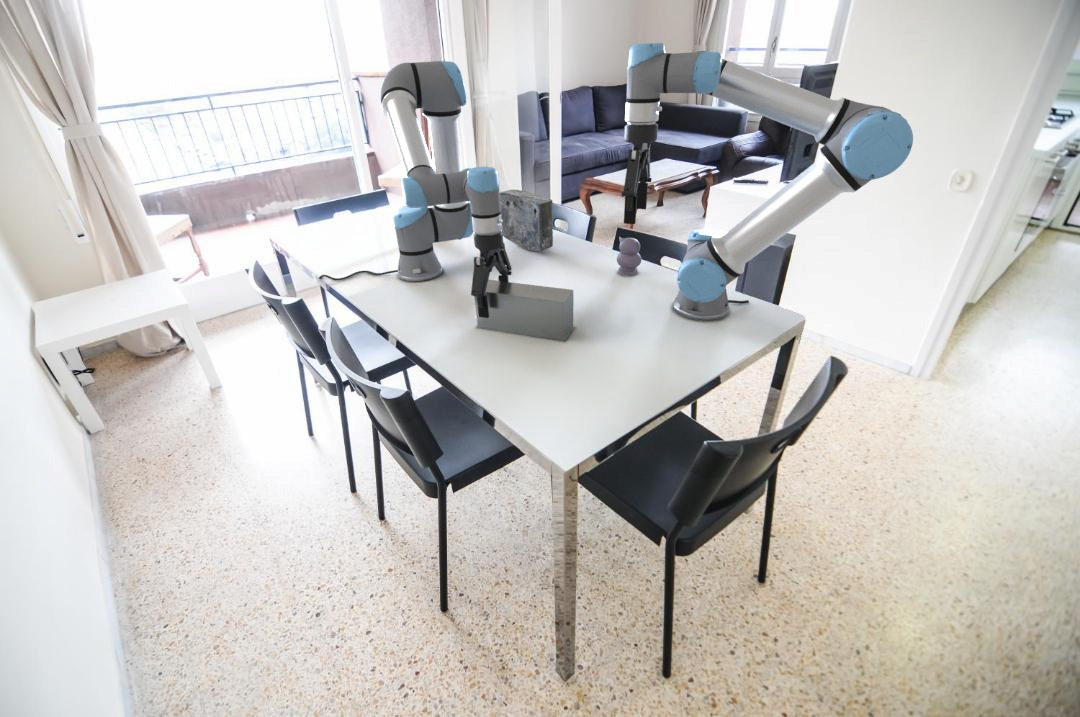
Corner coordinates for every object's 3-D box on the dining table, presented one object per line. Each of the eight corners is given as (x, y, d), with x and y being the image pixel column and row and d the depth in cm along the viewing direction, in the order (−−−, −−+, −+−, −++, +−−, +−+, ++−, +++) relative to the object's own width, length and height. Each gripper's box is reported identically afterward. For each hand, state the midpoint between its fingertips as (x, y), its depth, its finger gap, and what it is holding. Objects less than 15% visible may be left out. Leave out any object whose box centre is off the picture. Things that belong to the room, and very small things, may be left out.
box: (477, 327, 140) (473, 290, 134) (489, 315, 146) (486, 279, 140) (564, 341, 132) (564, 301, 126) (573, 327, 138) (573, 289, 132)
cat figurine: (645, 271, 170) (647, 237, 164) (632, 278, 165) (634, 243, 159) (624, 266, 175) (626, 232, 169) (611, 272, 170) (612, 238, 164)
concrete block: (558, 253, 189) (557, 199, 178) (539, 258, 184) (537, 204, 174) (519, 237, 207) (516, 187, 197) (501, 241, 203) (497, 191, 193)
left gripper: (478, 247, 117) (487, 328, 127) (520, 219, 136) (524, 291, 147) (450, 245, 119) (461, 324, 130) (495, 217, 139) (501, 288, 150)
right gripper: (647, 130, 103) (640, 231, 114) (666, 116, 122) (658, 204, 133) (612, 130, 105) (608, 229, 116) (636, 116, 125) (631, 202, 136)
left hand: (494, 306), depth 139 cm, fingers open, 13 cm apart
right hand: (635, 215), depth 125 cm, fingers open, 13 cm apart
